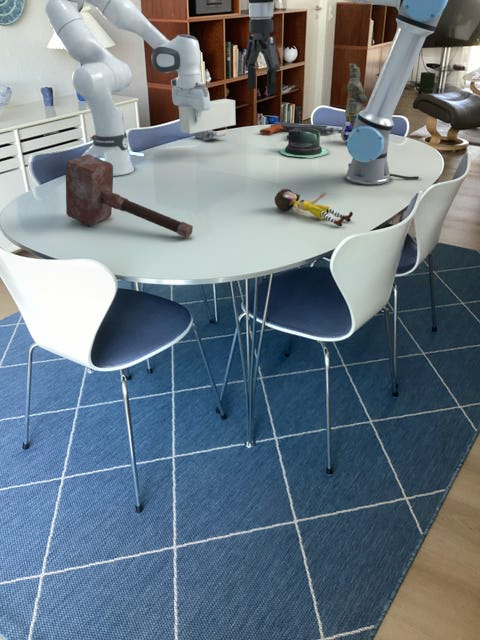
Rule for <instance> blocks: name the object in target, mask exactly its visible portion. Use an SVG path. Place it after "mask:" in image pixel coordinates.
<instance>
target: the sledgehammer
mask: <svg viewBox="0 0 480 640" xmlns="http://www.w3.org/2000/svg"><path fill="white" fill-rule="evenodd" d="M81 156H82V155H81ZM81 156H79V157H76V158H73V159H71V160H68V161H67V162H65V208H66V210H65V211H66V212H65V213H66V216H68V218H71V219H72V220H76V221H78V222H80V223H82V224H84V225H87V226H89V227H93V226H95V225H97V224H99V223H101V222H103V221H105V220H106V219H109V218H111V216H112V211H113V209H115V210H119V211H121V212H126V213H128V214H131V215H133V216H134V217H137V218H140V219H142V220H145V221H147V222H149V223H151V224H155V225H157V226H160V227H162V228H164V229H167V230H169V231H171V232H174V233H176V234H177V235H178V236H181V237H183V238H186V239H189V238H190V236H191V235H192V233H193V227H194V226H193V225H192V224H189V223H186V222H184V221H180V220H177V219H174V218H172V217H170V216H168V215H164V214H162V213H159V212H157V211H155V210H153V209H150V208H148V207H146V206H143V205H141V204H138V203H135V202H133V201H131V200H129V199H128V198H126V197H124V196H121V195H120V194H118V193H115V192H114V191H113V190H114V189H113V188H114V176H113V165H112V164H111V163H109V162H107V161H104V160H101V159H99V158H96V157H94V156H91V155H89V154H87V155H84V156H82V157H81Z"/></svg>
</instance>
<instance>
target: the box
mask: <svg viewBox="0 0 480 640" xmlns="http://www.w3.org/2000/svg"><path fill="white" fill-rule="evenodd" d="M196 115H197V112H196V109H193V107H188V106H178V117H179V118H178V119H179V131H180V133H184V134H188V135H192V134H195V133H197V132H202V131H207V130H212V131H213V130H216V129H222V128H227V127H232V126H236V125H237V123H236V100H234V99H230V98H222V99H215V100H210V109H209V110H205V111H203V112H202V115H201V121H199V122H198V121H195V116H196Z"/></svg>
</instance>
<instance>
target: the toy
mask: <svg viewBox="0 0 480 640" xmlns="http://www.w3.org/2000/svg"><path fill="white" fill-rule="evenodd" d="M352 130H353V127H352V124H350V122H346V121H345V122H344V123H343V126H342V128H341V129H339V130H338V134H340V137H341V139H342V141H343V142H347V139H348V136H349V134H350V133H351V132H352Z"/></svg>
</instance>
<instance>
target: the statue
mask: <svg viewBox="0 0 480 640" xmlns="http://www.w3.org/2000/svg"><path fill="white" fill-rule="evenodd" d="M348 70H349V73H350V75H349V76H350V78H349V81H348V82H347V85H346V90H347V98H346V99H347V100H346V101H347V102H346V106H345V112H344V115H345V123H346V122H350V124H352V127H354V124H355V122H356V117H357V114H358V113H359V112H360V111H362V110H363V108H364V104H365V103H367V102H368V96H367V95H366V94H365V91H364V86H363V84H362V82H361V68H360V67H359V66H358V65H357V64H356V63H351V62H350V63H348Z"/></svg>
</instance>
